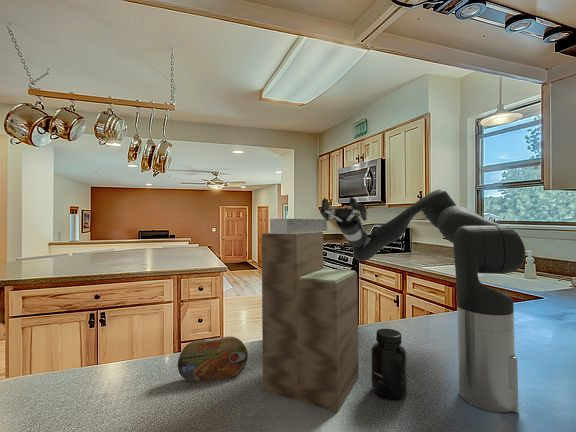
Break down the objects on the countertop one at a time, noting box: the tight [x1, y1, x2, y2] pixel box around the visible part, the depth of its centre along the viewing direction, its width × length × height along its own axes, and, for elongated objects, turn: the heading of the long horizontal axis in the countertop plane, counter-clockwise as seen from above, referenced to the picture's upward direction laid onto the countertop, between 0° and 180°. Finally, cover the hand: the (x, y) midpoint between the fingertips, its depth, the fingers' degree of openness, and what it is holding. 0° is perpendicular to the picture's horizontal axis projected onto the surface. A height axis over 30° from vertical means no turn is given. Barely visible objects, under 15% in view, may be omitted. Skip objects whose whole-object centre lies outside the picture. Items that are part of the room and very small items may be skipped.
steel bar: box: [269, 218, 328, 234], centre depth 72 cm, size 4×22×3 cm, turn 152°
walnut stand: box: [261, 231, 360, 413], centre depth 66 cm, size 16×14×32 cm
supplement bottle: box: [370, 328, 408, 402], centre depth 63 cm, size 7×7×12 cm
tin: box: [177, 336, 249, 383], centre depth 70 cm, size 15×3×8 cm, turn 105°
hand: (337, 200), depth 95 cm, fingers open, 8 cm apart
